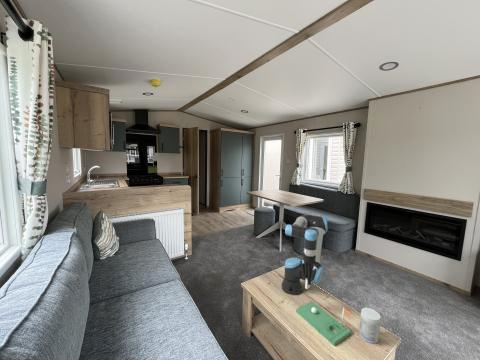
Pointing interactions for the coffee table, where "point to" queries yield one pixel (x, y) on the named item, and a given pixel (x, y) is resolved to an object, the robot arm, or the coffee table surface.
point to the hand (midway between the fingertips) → (307, 287)
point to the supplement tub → (370, 325)
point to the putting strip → (324, 322)
